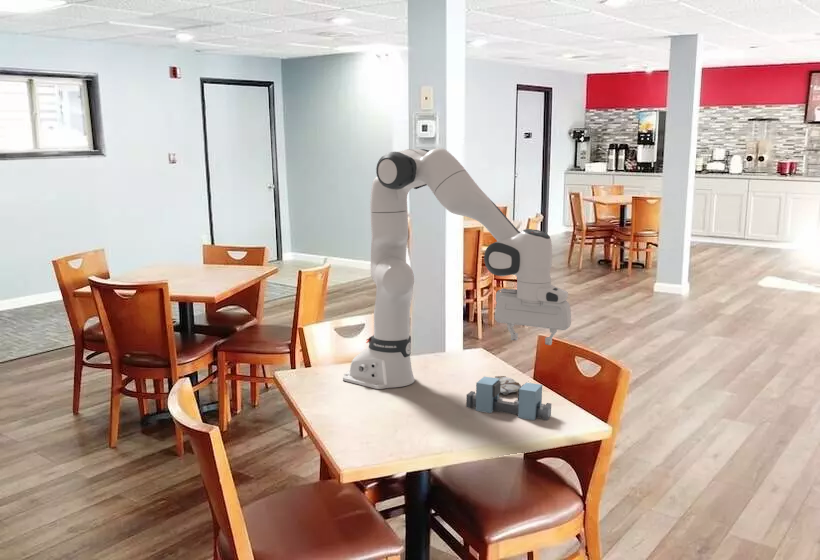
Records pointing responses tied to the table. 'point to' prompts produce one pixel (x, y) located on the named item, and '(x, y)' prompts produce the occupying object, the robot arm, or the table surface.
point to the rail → (510, 406)
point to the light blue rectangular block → (487, 393)
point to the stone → (508, 385)
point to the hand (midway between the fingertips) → (531, 342)
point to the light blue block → (529, 400)
